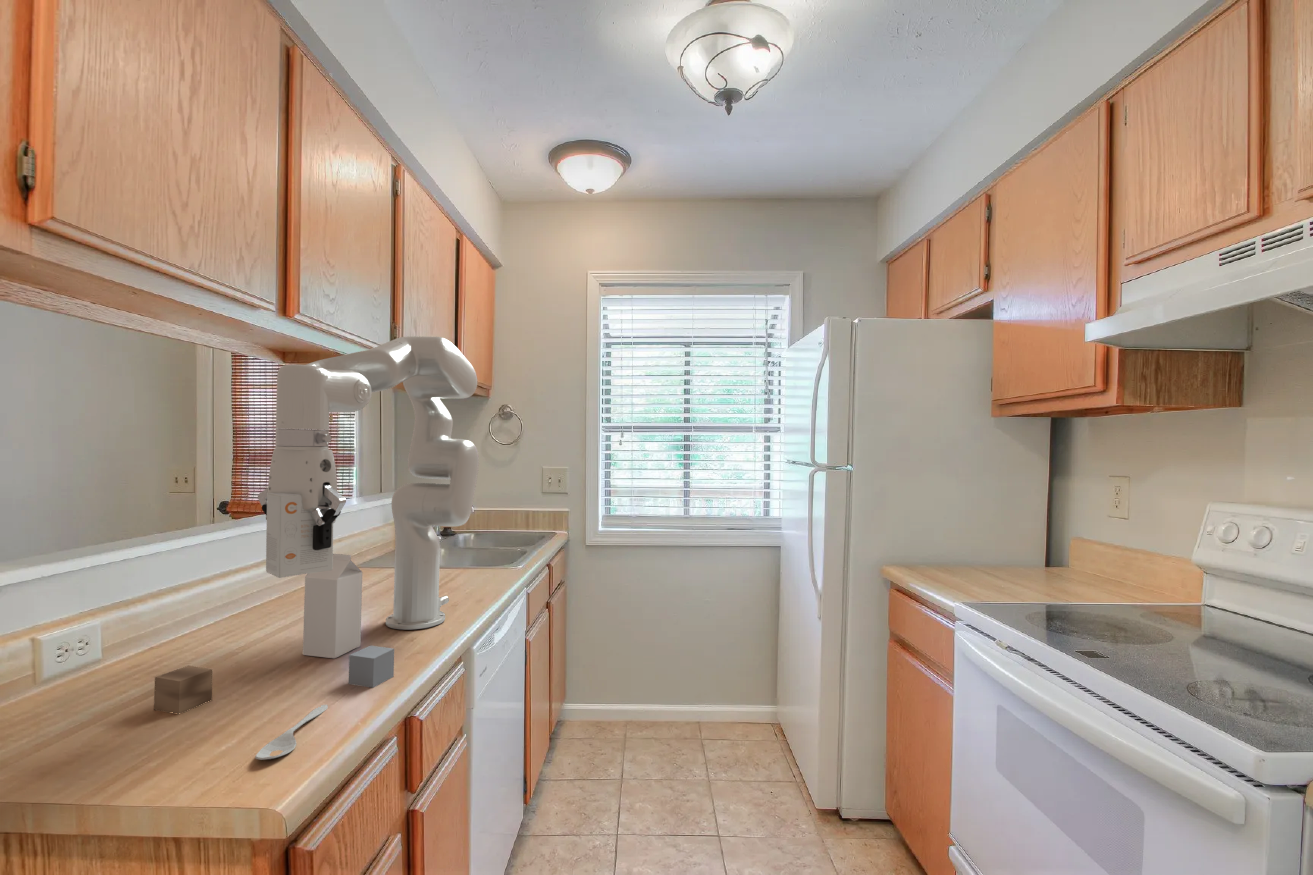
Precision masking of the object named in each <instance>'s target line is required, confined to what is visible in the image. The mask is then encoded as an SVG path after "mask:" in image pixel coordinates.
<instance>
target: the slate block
mask: <svg viewBox="0 0 1313 875" xmlns="http://www.w3.org/2000/svg"><path fill="white" fill-rule="evenodd" d="M394 668H395V648H394V647H393V648H392V647H385V646H377V645H369V646H367V647H364V648H361V649H360V650H358V651H355V652H353V653H350V654H349V655H348V685H353V686H359V687H366V688H375V687H378V686H379V685H381V684H383V683H384V682H386V681H388V680H390V679H392V678H394V675H395V669H394Z"/></svg>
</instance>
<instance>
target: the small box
mask: <svg viewBox="0 0 1313 875" xmlns="http://www.w3.org/2000/svg"><path fill="white" fill-rule="evenodd" d="M325 502H326V503H328V505H329V504H332V502H331V501H330V500H329V499H328V498H327V497H326V496H323V495H322V498H321V500H320V501H319V504H318V506H321V505H325ZM329 507H330V508H331V505H329ZM321 514H322V516H323V515H324V511H321ZM313 525H317V523H316V521H315V519H314V517H313V515H312V514H311V512H310V511H306V510H304V509H303V506H302V498H301V495H299V494H287V493H267V520H266V538H265V539H266V542H265V543H266V546H265V552H266V555H265V572H266V573H268V574H269V575H272V576H274V577H276V578H279V579H282V578H286V577H287V578H288V577H294V576H301V575H307V574H308V573H315V572H321V571H328V570H332V563H333V554H334V523H332V538H331V547H330V548H326V549H321V550H313Z"/></svg>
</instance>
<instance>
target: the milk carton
mask: <svg viewBox="0 0 1313 875" xmlns="http://www.w3.org/2000/svg"><path fill="white" fill-rule="evenodd" d="M362 596H363V571H362V570H361V569H360V567H358V566H357V564H355V563H354V562H353V561H352V554H344V553H343V554H342V553H333V563H332V570H328V571H321V572H315V573H308V574H305V576H304V598H303V600H304V604H303V640H302V655H304V656H309V657H310V656H311V657H320V658H328V659H336V658H338V657H342V656H343V655H345V654H347V653H348V652H351V651H353V650H354V649H357V648H359V647H361V639H362V638H361V637H362V634H361V633H362V632H361V631H362V630H361V629H362V604H363V603H362V602H363V600H362V599H363V598H362Z"/></svg>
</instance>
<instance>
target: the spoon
mask: <svg viewBox="0 0 1313 875" xmlns="http://www.w3.org/2000/svg"><path fill="white" fill-rule="evenodd" d="M320 706H321V707H319V706H317V707H318V708H317V707H315V708H314V709H313V710H312V711H310V712H309V713H308V714H306V716H304V717H303V718H302V719H301V720H300V721H298V722H297V723H296V724H295V725H294V726H293V727H291V728H289V729H287V730H286V731H284V733H282V734H281V735H279V736H277V737H276V738H274V739H272V740H271V741H269V742H268V743H267V744H266V745H264V746H263V747H262V748H261V749H260V750H259V751H258V752H257V753H256V754H255V757H254V759H256V760H261V761H262V760H263V761H264V760H273V759H278V758H280V757H283V756H285V755H287V754H289V753H291V752H293V750H294V749H295V748H296V746H297V740H296V738H295V737H294V732H295V731H296V730H298V729H299V728H300V727H302V726H303V725H304V724H306V723H307V722H310V721H311V720H313V719H315V718H317V717H319V716H320V715H322V713H324V712H325V711H326V710H327V709H328V708H329V706H328V704H322V705H320ZM275 751H276V752H277V751H281V752H280V753H279V754H276V755H271V754H272V752H275Z"/></svg>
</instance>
